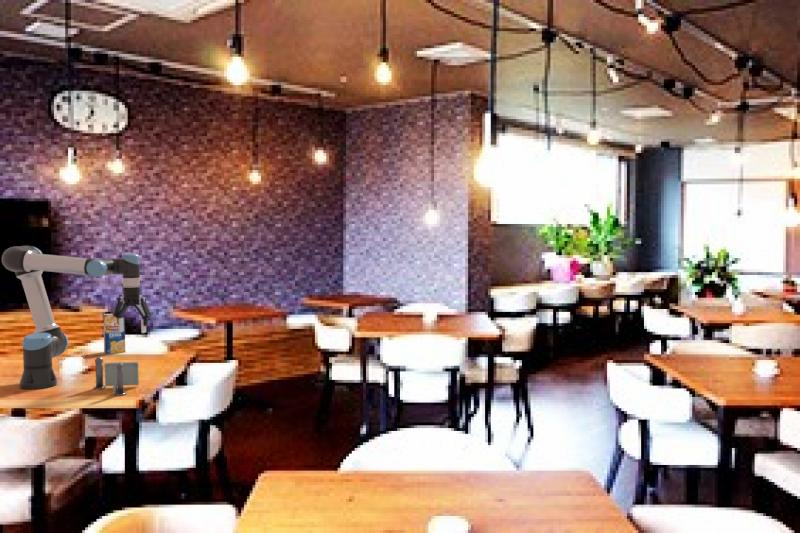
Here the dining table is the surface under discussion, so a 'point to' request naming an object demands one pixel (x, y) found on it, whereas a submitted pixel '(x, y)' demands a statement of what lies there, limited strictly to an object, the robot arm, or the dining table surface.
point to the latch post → (119, 381)
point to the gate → (128, 373)
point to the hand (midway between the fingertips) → (132, 332)
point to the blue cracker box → (113, 335)
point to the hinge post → (99, 373)
